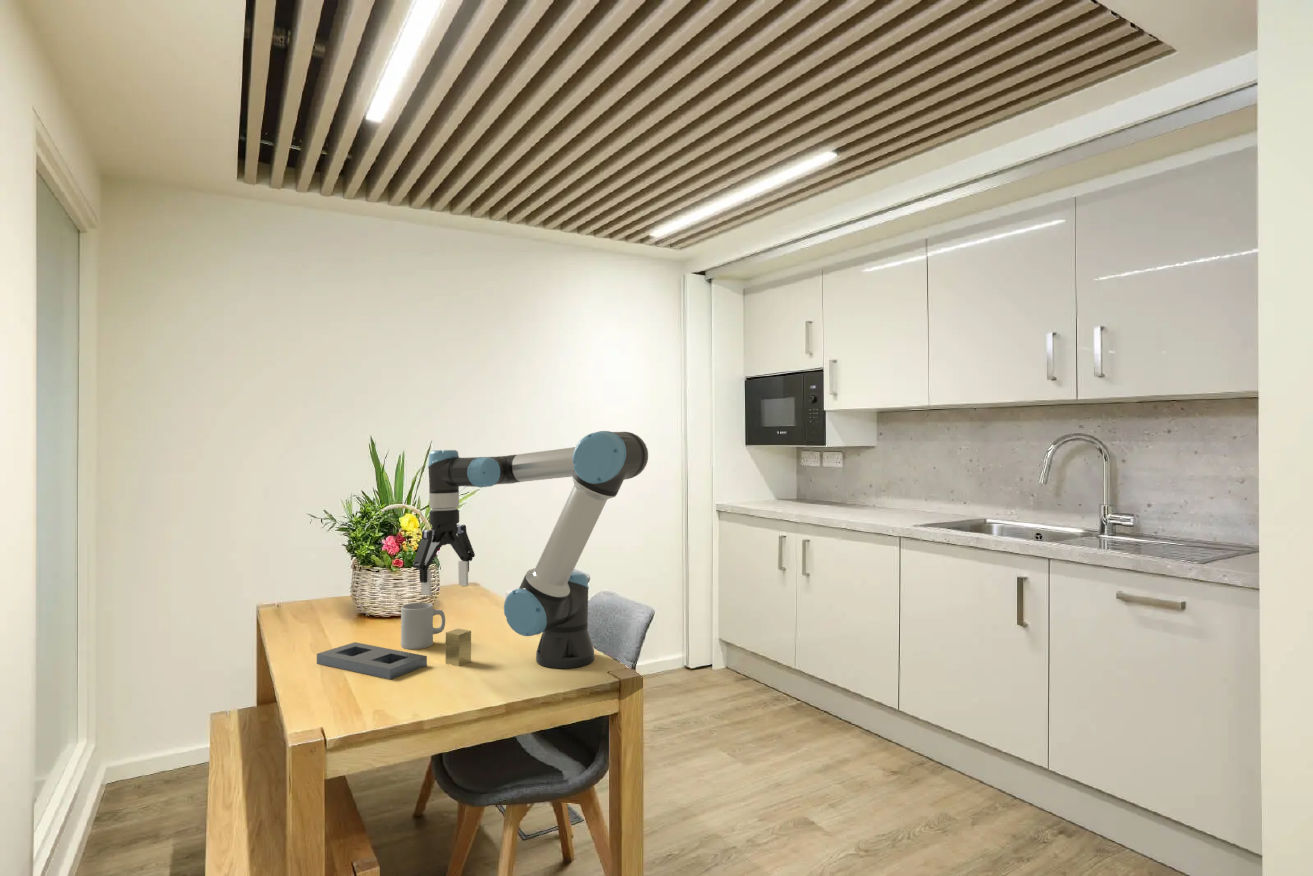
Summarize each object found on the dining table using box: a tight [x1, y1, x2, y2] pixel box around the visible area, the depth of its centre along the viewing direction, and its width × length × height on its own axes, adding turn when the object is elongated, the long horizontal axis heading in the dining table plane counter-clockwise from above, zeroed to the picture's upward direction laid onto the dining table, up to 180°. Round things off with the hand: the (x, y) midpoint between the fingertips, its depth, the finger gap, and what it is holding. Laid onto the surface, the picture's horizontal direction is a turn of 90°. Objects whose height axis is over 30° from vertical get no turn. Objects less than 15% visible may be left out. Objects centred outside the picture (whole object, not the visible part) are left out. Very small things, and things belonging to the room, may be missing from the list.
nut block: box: [445, 628, 472, 667], centre depth 194 cm, size 4×4×8 cm
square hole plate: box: [316, 642, 428, 680], centre depth 192 cm, size 26×12×2 cm, turn 63°
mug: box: [400, 602, 446, 650], centre depth 210 cm, size 12×8×11 cm
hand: (445, 590), depth 196 cm, fingers open, 13 cm apart
